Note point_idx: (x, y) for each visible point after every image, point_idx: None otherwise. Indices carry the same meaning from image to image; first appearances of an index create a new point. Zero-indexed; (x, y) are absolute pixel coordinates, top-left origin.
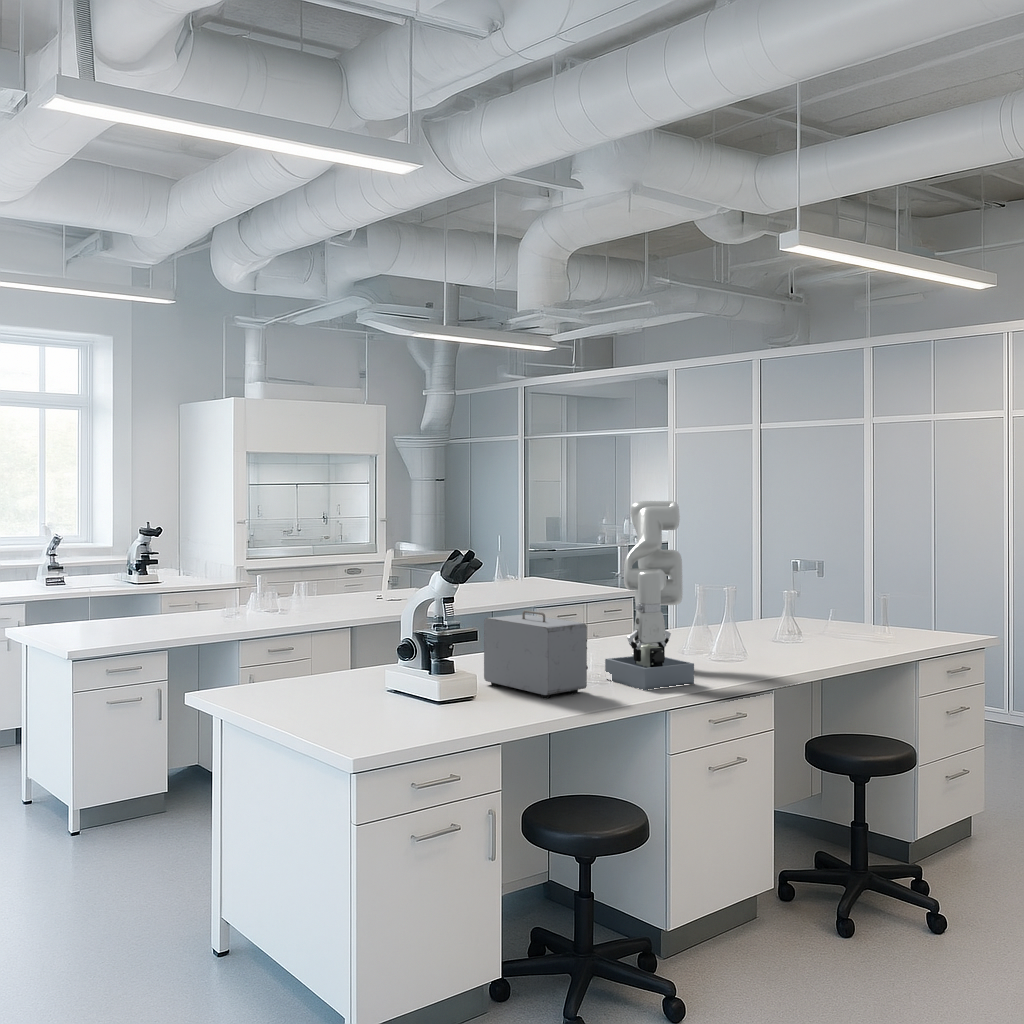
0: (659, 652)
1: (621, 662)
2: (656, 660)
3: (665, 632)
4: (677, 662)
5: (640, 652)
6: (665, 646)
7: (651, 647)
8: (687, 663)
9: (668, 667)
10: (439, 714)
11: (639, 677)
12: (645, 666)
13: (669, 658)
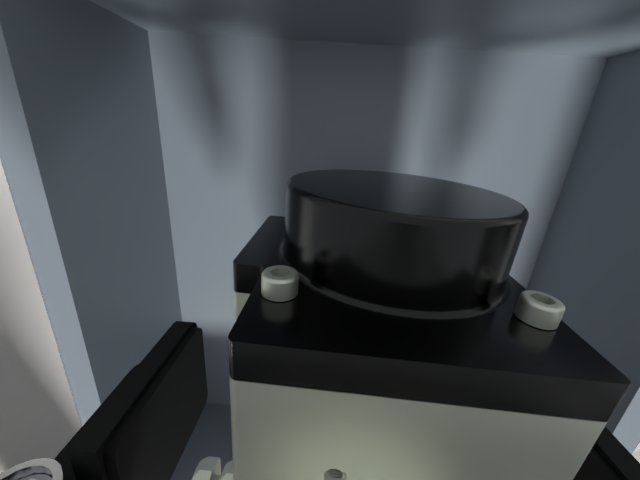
0: (432, 209)
1: (631, 434)
2: (452, 186)
3: None
4: (72, 219)
5: (607, 448)
6: (24, 465)
7: (460, 477)
8: (7, 12)
9: None
10: None
11: None
12: (223, 439)
13: (79, 352)
